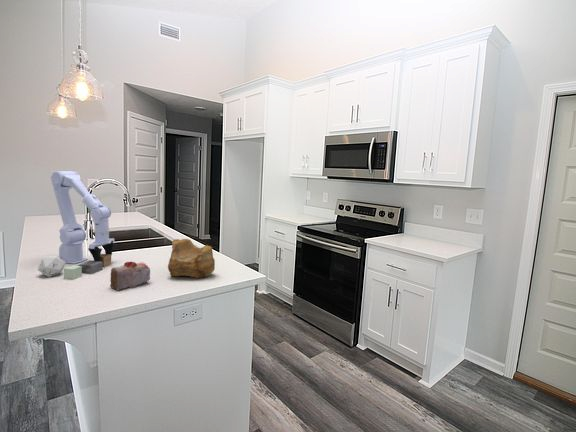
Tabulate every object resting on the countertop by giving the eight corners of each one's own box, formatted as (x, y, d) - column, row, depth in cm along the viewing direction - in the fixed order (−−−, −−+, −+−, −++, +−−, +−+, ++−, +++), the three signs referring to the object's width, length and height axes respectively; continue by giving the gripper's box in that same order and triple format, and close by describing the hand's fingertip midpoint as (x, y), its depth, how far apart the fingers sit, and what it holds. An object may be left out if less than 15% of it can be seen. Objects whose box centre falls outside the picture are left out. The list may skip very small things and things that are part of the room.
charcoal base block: (78, 273, 143) (78, 264, 142) (89, 269, 149) (89, 260, 149) (92, 274, 142) (92, 265, 141) (102, 270, 148) (102, 261, 148)
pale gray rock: (33, 279, 134) (42, 263, 131) (37, 264, 140) (45, 248, 137) (57, 283, 139) (66, 267, 136) (60, 268, 146) (68, 252, 143)
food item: (141, 279, 139) (141, 256, 137) (152, 283, 134) (151, 260, 133) (108, 287, 128) (107, 263, 127) (118, 292, 123) (117, 267, 122)
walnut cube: (94, 266, 152) (94, 256, 152) (102, 263, 157) (101, 253, 157) (104, 267, 152) (103, 257, 151) (111, 264, 157) (111, 254, 156)
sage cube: (64, 278, 135) (63, 268, 134) (72, 275, 139) (72, 265, 139) (73, 279, 134) (73, 269, 134) (81, 276, 139) (81, 266, 138)
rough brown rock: (153, 275, 145) (151, 244, 142) (181, 264, 160) (180, 235, 156) (191, 288, 135) (190, 254, 131) (218, 274, 149) (217, 243, 145)
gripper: (98, 235, 145) (99, 265, 146) (119, 230, 159) (120, 256, 161) (84, 234, 146) (85, 263, 147) (106, 229, 160) (107, 255, 162)
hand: (103, 260), depth 154 cm, fingers open, 7 cm apart
